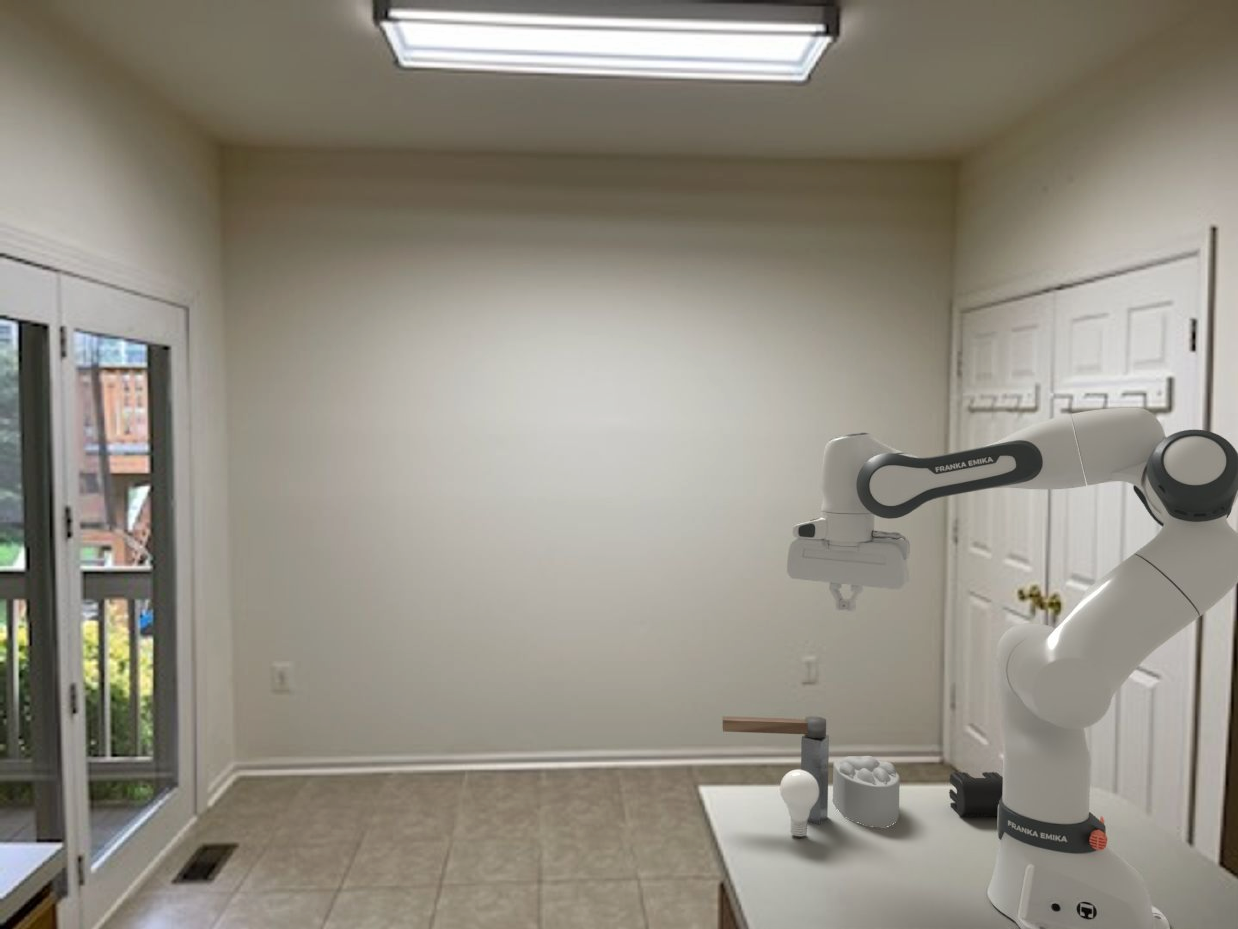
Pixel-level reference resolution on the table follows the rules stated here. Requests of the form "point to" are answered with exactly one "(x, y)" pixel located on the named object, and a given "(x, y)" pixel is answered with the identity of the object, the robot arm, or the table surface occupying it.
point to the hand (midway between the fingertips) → (845, 610)
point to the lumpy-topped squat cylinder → (866, 790)
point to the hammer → (777, 725)
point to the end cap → (976, 794)
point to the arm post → (817, 772)
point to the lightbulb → (799, 798)
